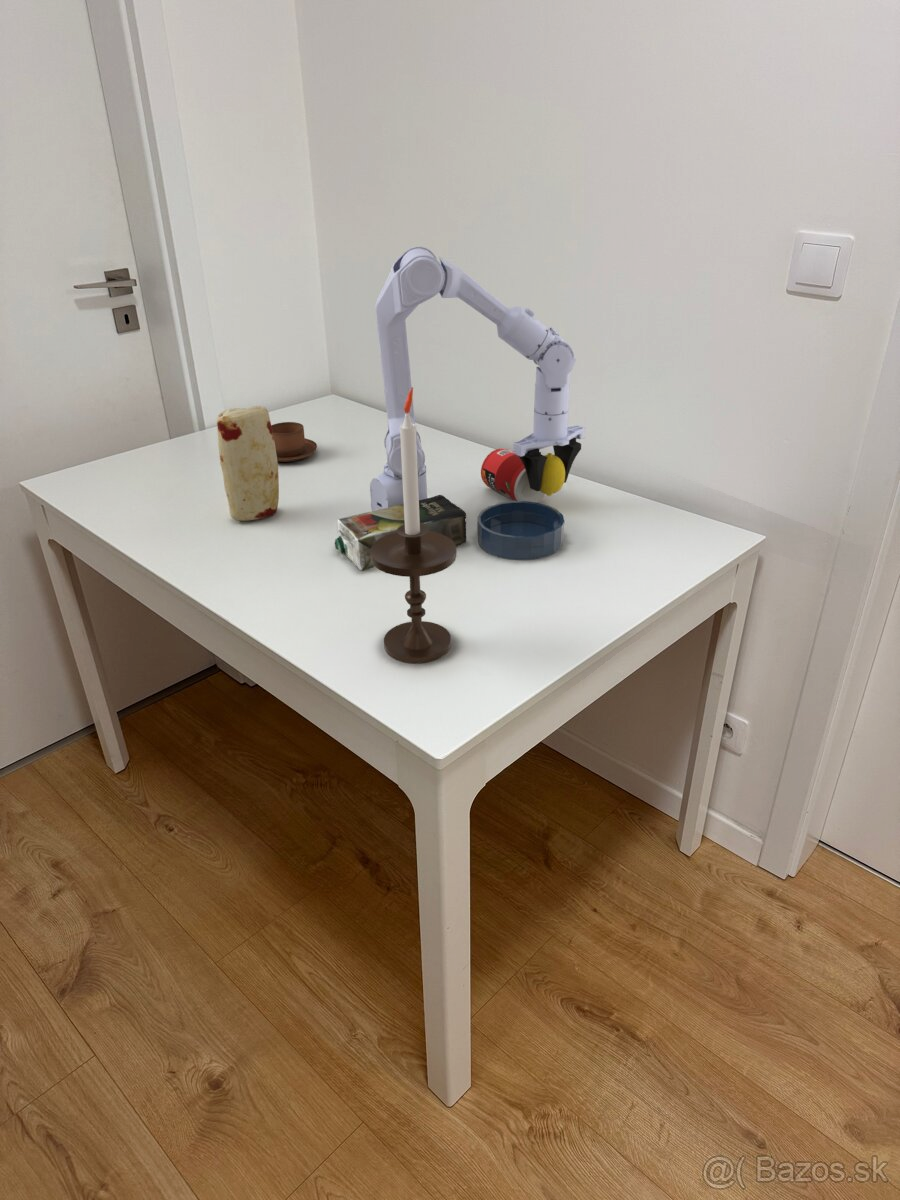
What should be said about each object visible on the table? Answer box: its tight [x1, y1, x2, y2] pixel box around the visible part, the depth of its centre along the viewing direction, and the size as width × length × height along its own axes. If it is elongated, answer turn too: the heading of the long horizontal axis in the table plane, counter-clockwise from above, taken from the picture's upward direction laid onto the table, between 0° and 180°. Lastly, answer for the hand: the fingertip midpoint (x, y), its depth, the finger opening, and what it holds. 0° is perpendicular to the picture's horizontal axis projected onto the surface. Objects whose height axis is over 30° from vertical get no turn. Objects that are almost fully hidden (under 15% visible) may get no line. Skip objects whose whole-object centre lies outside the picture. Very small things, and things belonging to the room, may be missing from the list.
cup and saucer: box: [271, 421, 318, 463], centre depth 175 cm, size 12×12×6 cm
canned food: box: [480, 448, 546, 503], centre depth 154 cm, size 8×8×11 cm
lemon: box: [540, 452, 565, 497], centre depth 148 cm, size 6×6×8 cm
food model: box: [216, 405, 280, 522], centre depth 146 cm, size 10×7×20 cm
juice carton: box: [334, 494, 467, 571], centre depth 137 cm, size 20×10×6 cm, turn 118°
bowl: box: [476, 500, 565, 561], centre depth 139 cm, size 14×14×4 cm
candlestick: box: [370, 386, 457, 664], centre depth 105 cm, size 11×11×35 cm
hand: (547, 485), depth 149 cm, fingers closed on lemon, 5 cm apart
